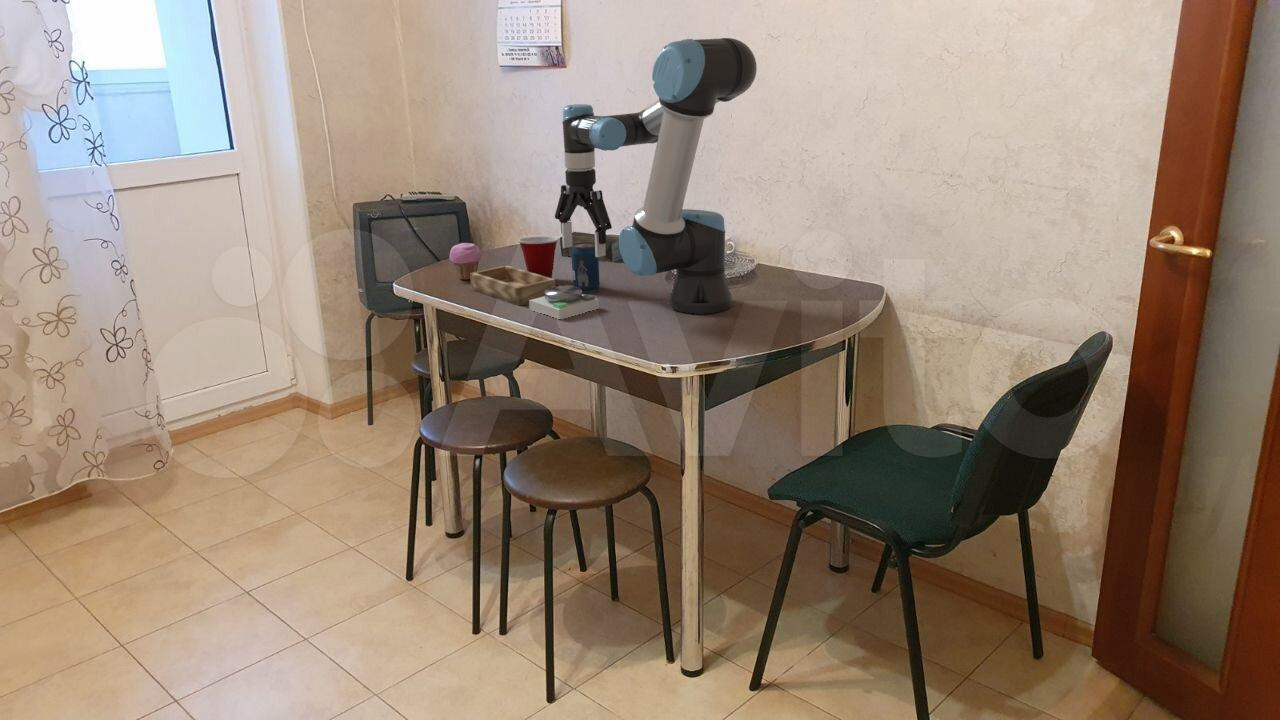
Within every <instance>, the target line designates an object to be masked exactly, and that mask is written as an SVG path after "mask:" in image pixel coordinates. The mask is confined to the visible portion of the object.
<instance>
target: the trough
mask: <svg viewBox="0 0 1280 720" xmlns="http://www.w3.org/2000/svg"><path fill="white" fill-rule="evenodd" d="M469 280H470V289H471V290H472V291H475V292H477V293H480V294H483V295H486V296H489V297H491V298H494V297H495V299H497V298H498V300H500V299H501V300H500V301H503V300H504V302H506V301H507V303H510V304H512V305H516V306H519V307H520V306H523V305H527V304H529V300H532V299H536V298H540V297H544V296H545V290H546V289H548V288H551V287H556V279H555V278H553V277H552V278H549V277H546V276H542V275H539V274H535V273H532V272H528V271H527V270H525V269H521V268H518V267H514V266H511V265H507V264H504V265H501V266H495V267H490V268H488V269H487V268H486V269H482V270H479V271H478V270H477V272H473V273H470V279H469Z"/></svg>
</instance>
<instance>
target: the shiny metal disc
mask: <svg viewBox="0 0 1280 720" xmlns="http://www.w3.org/2000/svg"><path fill="white" fill-rule="evenodd" d="M582 295H583V293H582V289H581V288H579V287H576V286H573V285H558V286H556V285H555V287H551V288H548V289H546V290H545V299H546V300H549V301H554V302H567V301H573V300H577V299H579V298H581V297H582Z"/></svg>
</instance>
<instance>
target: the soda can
mask: <svg viewBox="0 0 1280 720" xmlns="http://www.w3.org/2000/svg"><path fill="white" fill-rule="evenodd" d="M571 256H572V257H571V269H572V272H571V273H572V286H576V287H579V288H581V289H582V294H583V293H586V292H588V293H594V292H596V291H597V290H598V289H599V287H600V284H601V283H600V266H599V265H600V264H599V263H600V261H599V260H598V257H595V243H590V242H582V243H576V244H574V245H573V249H572V251H571ZM593 291H594V292H593Z"/></svg>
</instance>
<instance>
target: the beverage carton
mask: <svg viewBox="0 0 1280 720" xmlns="http://www.w3.org/2000/svg"><path fill="white" fill-rule="evenodd" d="M582 242H590V243H595V233H588V232H580V231H572V245H574V244H576V243H582ZM559 243H560V244H559V245H560V255H563V256H562V257H567V256H570V257H569V258H572V256H571V251H572V249H573V246H572V247H567V248H563V244H562V236H560V237H559ZM605 252H606V255H605V256H601V257H598V260H599V262H606V261H608V262H609V263H616V262H617V261H620V260H623V259H622V256H621V253H620V249H619V236H610V235H606V243H605ZM608 262H607V263H608Z"/></svg>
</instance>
